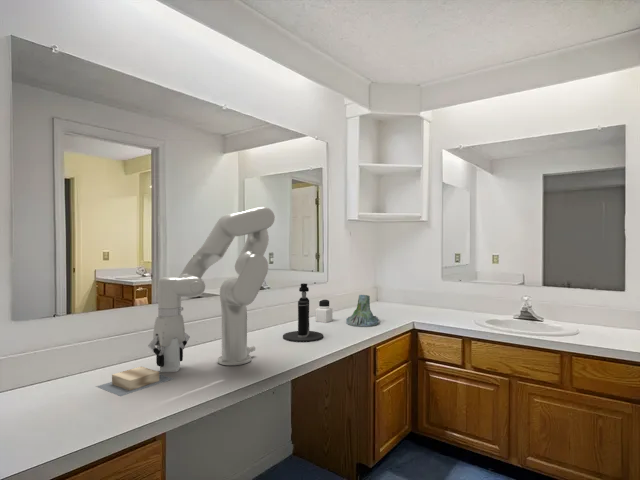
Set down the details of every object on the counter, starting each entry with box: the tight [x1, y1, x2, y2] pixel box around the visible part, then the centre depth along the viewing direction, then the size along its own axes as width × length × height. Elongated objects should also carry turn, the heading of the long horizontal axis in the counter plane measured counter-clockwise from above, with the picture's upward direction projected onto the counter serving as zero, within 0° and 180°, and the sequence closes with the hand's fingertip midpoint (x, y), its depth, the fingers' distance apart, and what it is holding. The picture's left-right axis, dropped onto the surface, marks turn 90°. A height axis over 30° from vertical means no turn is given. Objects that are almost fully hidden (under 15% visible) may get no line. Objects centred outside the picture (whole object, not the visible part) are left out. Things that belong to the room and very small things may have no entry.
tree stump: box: [345, 294, 380, 328], centre depth 228 cm, size 18×20×18 cm
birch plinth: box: [111, 366, 160, 390], centre depth 132 cm, size 10×10×3 cm
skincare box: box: [159, 338, 181, 373], centre depth 144 cm, size 6×4×12 cm
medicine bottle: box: [315, 299, 333, 324], centre depth 233 cm, size 7×7×12 cm
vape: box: [282, 283, 324, 343], centre depth 195 cm, size 19×19×25 cm
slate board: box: [95, 373, 174, 397], centre depth 132 cm, size 18×14×1 cm
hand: (169, 362), depth 144 cm, fingers closed on skincare box, 6 cm apart
